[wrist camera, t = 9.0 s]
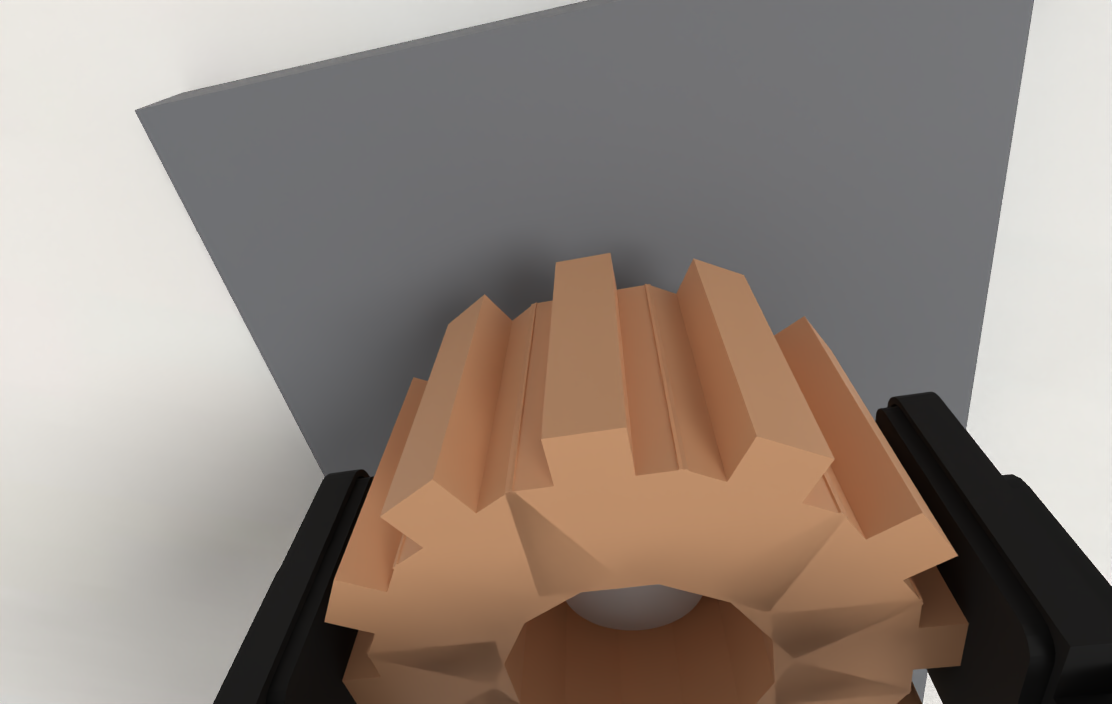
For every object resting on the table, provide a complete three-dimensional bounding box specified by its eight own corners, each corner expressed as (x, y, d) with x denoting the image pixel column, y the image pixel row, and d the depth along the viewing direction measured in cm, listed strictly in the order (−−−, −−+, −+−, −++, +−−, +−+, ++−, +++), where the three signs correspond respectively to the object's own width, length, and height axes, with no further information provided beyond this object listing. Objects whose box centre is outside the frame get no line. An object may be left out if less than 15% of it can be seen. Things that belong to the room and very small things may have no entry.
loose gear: (843, 576, 13) (938, 804, 9) (471, 614, 14) (434, 832, 10) (857, 208, 9) (1027, 372, 5) (337, 300, 10) (210, 484, 7)
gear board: (895, 699, 21) (1004, 960, 16) (485, 730, 23) (455, 973, 18) (990, -92, 10) (1475, -136, 5) (181, 93, 12) (-157, 216, 7)
